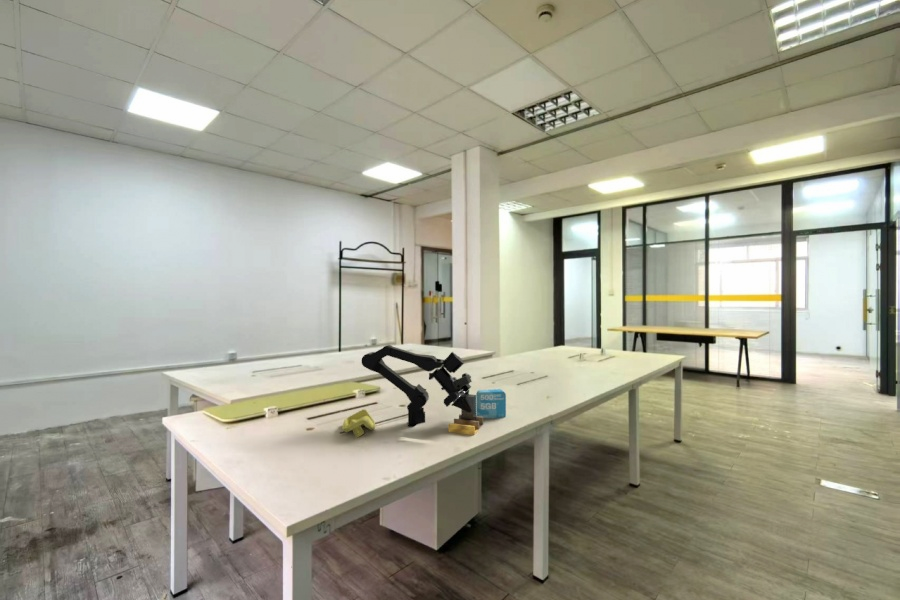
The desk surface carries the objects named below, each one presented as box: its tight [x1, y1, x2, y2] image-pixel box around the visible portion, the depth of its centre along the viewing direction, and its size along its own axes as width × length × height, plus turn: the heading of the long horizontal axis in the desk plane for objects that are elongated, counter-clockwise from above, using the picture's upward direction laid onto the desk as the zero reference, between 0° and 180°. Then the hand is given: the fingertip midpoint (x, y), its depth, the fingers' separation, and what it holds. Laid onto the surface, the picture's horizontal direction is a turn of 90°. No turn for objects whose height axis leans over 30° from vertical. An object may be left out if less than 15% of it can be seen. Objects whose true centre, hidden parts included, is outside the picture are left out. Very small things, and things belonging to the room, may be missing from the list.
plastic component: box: [341, 409, 376, 438], centre depth 146 cm, size 20×7×10 cm
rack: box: [448, 414, 484, 436], centre depth 147 cm, size 10×13×4 cm
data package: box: [475, 388, 507, 419], centre depth 163 cm, size 12×4×12 cm, turn 98°
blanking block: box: [460, 393, 477, 421], centre depth 150 cm, size 5×4×12 cm
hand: (472, 410), depth 150 cm, fingers closed on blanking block, 3 cm apart
